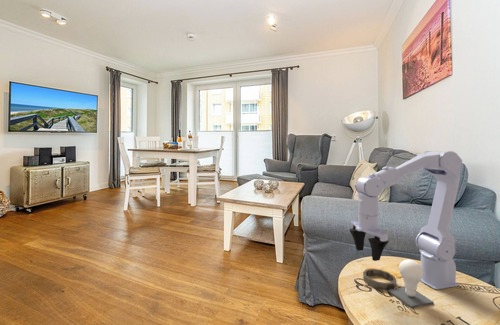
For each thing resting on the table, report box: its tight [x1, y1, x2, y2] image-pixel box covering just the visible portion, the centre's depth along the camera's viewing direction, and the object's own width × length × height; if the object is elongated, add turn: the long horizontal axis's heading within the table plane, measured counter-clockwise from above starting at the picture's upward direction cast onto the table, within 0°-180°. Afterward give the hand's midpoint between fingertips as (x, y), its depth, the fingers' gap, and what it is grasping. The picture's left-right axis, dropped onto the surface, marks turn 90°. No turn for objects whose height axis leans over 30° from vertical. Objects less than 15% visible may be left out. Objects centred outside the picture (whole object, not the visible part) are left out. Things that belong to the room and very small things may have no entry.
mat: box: [387, 286, 434, 309], centre depth 71 cm, size 8×8×1 cm
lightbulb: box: [398, 259, 424, 297], centre depth 70 cm, size 6×6×11 cm
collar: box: [362, 268, 397, 291], centre depth 79 cm, size 10×10×2 cm
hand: (367, 254), depth 77 cm, fingers open, 7 cm apart
